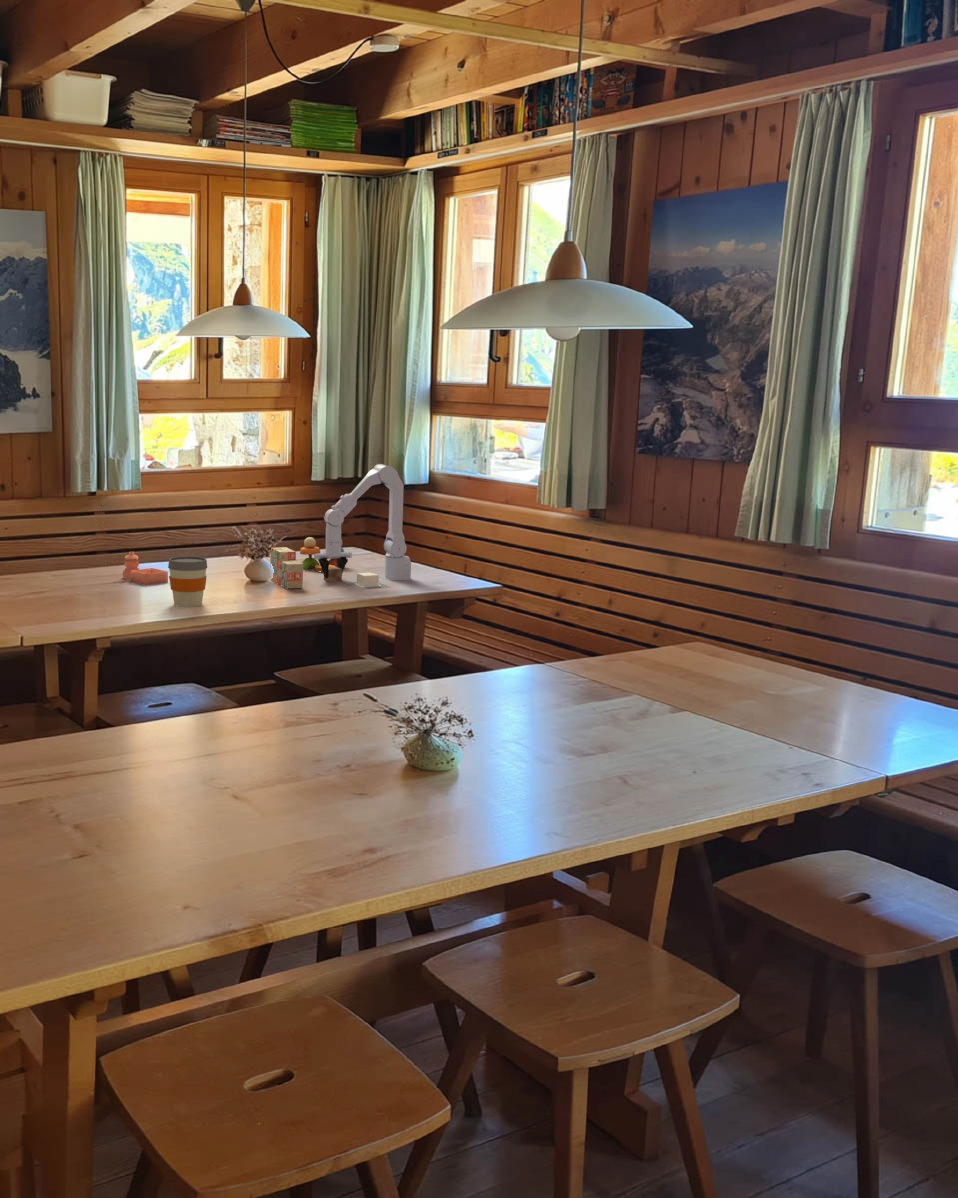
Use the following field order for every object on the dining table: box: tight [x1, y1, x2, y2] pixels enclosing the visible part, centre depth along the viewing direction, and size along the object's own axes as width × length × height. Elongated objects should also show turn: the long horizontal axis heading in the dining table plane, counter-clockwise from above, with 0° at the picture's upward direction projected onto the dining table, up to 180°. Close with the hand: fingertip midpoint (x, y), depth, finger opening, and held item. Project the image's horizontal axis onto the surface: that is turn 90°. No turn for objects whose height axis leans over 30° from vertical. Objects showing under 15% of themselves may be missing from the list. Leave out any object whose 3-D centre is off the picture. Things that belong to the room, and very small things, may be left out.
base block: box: [356, 572, 380, 587], centre depth 436 cm, size 6×6×4 cm
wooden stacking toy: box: [299, 536, 345, 572], centre depth 469 cm, size 18×17×12 cm
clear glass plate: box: [345, 581, 390, 590], centre depth 436 cm, size 12×14×1 cm
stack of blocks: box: [269, 546, 304, 590], centre depth 433 cm, size 21×6×12 cm, turn 25°
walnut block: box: [323, 567, 343, 583], centre depth 443 cm, size 5×5×5 cm
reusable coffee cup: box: [167, 555, 208, 608], centre depth 390 cm, size 13×13×15 cm
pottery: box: [122, 551, 169, 586], centre depth 429 cm, size 18×10×10 cm, turn 52°
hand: (332, 577), depth 443 cm, fingers closed on walnut block, 5 cm apart
